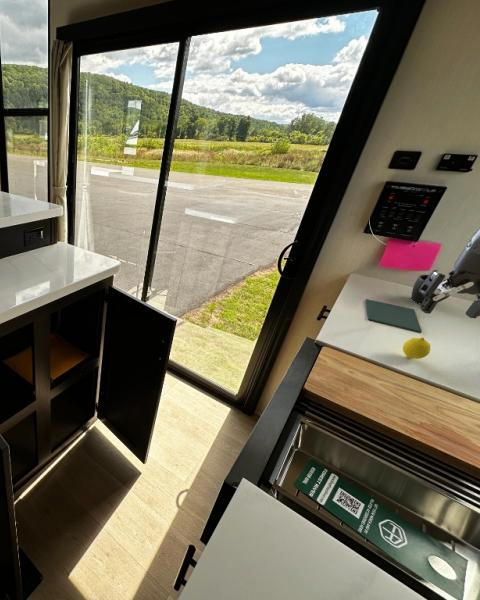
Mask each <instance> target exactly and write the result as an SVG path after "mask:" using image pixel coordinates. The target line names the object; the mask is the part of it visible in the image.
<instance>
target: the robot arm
mask: <svg viewBox="0 0 480 600" xmlns="http://www.w3.org/2000/svg"><path fill="white" fill-rule="evenodd" d="M453 265H454V266H453V269H452V270H451V271H449V272H443V271H442V272H441V271H439V270H437V269H434V270H432V271H431V272H430V273H429V274H428V275H429V276H428V277H427V279H426V280H425V282H424V283H423V285H422V286H421V287H420V289H419V290H418V291H419V292H420V293H421V294H422V295H423V296H425V297H426V298H425V299H424V301H423V303H422V304H420V306H419V309H420V310H421V311H422V312H423V313H424V314H428V315H429V314H432V312H433V310H434V309H435V307H437V305H438V303H439V302H438V301H437V300H439V299H441V298H443V297H445V296H449V297H450V296H453V295H455V294H461V295H462V294H463V295H464V294H468V295H472V296H473V295H474V296H475V297H476V299H477V300H474V301H473V302H472V303H471V305H470V306H469V307H468V309H467V310H466V311H465V315H466V316H467V317H468V318H470V319H477V318H478V317H480V227H479V228H477V230H476V231H475V232H474V233H473V234H472V236H471V237H470V239H469V240H468V242H467V243H466V245H465V246H464V248H463V249H462V251H461V253H460V254H459V256H458V257H457V259H456V260H455V262H454V264H453ZM444 280H446V281H444ZM441 282H442V283H441ZM446 287H447V289H446ZM439 292H440V293H439ZM437 293H438V294H437Z"/></svg>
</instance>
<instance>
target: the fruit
mask: <svg viewBox="0 0 480 600" xmlns="http://www.w3.org/2000/svg"><path fill="white" fill-rule="evenodd" d="M402 352H403V354H404V355H405V357H406V358H407V359H410V360H411V359H414V360H420V359H424V358H426V357H427V356H428V355H429V354H430V353H431V344H430V343H429V342H428V341H427V340H426V339H425V338H424V337H412V338H409V339H408V340H406V341H405V342H404V343H403V346H402Z"/></svg>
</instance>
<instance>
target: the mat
mask: <svg viewBox="0 0 480 600" xmlns="http://www.w3.org/2000/svg"><path fill="white" fill-rule="evenodd" d="M365 306H366V307H365V308H366V315H367V320H368V321H371V322H373V323H374V322H375V323H379V324H383V325H387V326H391V327H395V328H400V329H404V330H407V331H412V332H415V333H420V334H422V333H423V330H422V327H421V325H420V322H419V319H418V317H417V313H416V310H415V309H414V308H410V307H405V306H400V305H396V304H391V303H388V302H382V301H377V300H372V299H369V298H366V299H365Z"/></svg>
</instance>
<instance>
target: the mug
mask: <svg viewBox="0 0 480 600" xmlns="http://www.w3.org/2000/svg"><path fill="white" fill-rule="evenodd" d="M429 275H430V274H419V276H418V277H417V278H416V280H415V282H414V284H413V286H412V291H411V295H410V296H411V297H410V300H411V299H412V300H413V301H412V300H411V301H412V302H414V301H415V302H414V303H416V302H417V304H419V303H420V304H419V305H421V304H422V303H423V301H424V299H425V298H426V297H425V296H423V295H422V294H421V293H420V292H419V291H418V290H419V289H420V287H421V286H422V285H423V283H424V282H425V280H426V279H427V277H428V276H429ZM446 280H447V279H445V280H444V281H446ZM441 283H442V282H441ZM446 289H448V287H446ZM439 293H440V292H439ZM437 294H438V293H437ZM448 298H450V296H445V297H443V298H441V299H439V300H437V301H438V303H440V302H442V301H444V300H446V299H448Z"/></svg>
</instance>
